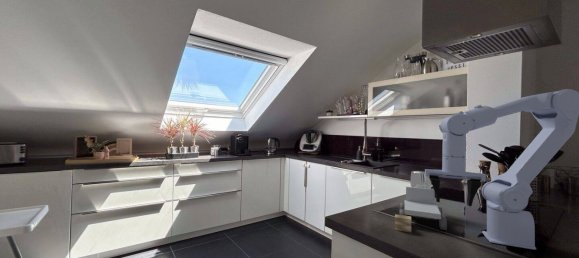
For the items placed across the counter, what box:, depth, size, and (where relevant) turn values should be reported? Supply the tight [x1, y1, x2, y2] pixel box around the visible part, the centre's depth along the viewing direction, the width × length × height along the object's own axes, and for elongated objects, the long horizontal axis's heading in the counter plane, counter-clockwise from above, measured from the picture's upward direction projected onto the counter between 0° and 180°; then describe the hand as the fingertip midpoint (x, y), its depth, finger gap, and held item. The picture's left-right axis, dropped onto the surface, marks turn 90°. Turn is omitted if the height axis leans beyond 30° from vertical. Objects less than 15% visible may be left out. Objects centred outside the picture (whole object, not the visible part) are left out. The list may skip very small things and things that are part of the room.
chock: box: [394, 214, 412, 233], centre depth 76 cm, size 4×5×4 cm
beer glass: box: [410, 170, 432, 189], centre depth 93 cm, size 7×7×15 cm
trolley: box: [399, 186, 448, 231], centre depth 82 cm, size 13×13×10 cm
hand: (453, 203), depth 71 cm, fingers open, 7 cm apart
